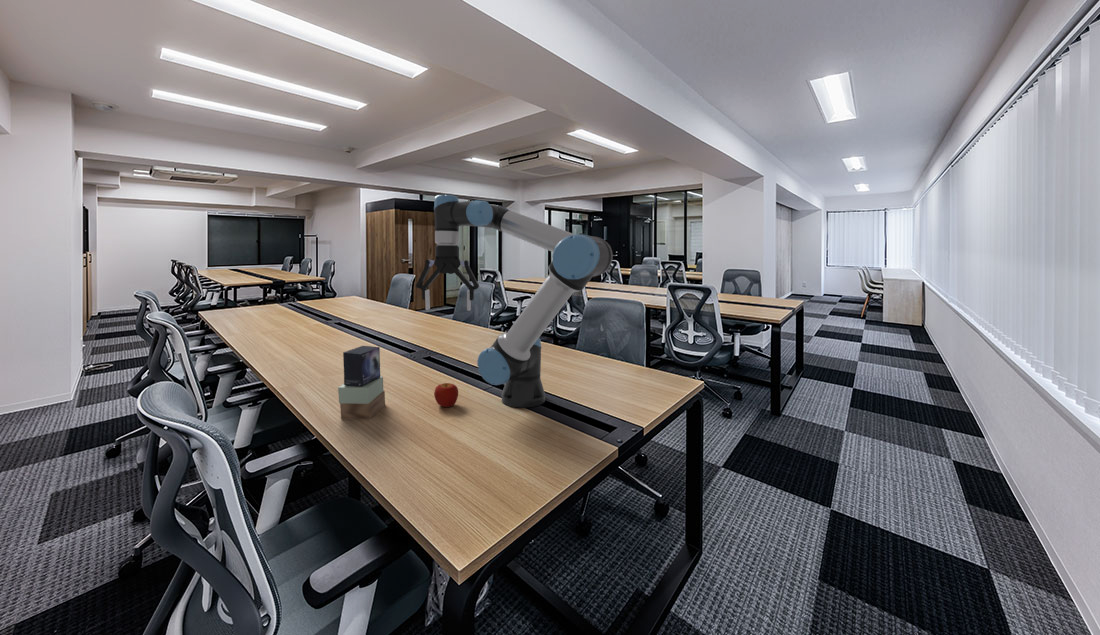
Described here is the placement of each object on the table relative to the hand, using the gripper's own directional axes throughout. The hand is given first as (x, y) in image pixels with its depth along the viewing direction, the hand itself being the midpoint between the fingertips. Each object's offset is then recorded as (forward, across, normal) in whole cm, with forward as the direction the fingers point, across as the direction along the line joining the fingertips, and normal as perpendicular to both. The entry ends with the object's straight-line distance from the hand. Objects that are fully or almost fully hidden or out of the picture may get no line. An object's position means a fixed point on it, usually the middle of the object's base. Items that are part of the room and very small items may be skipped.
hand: (448, 309), depth 141 cm
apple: (+32, 0, +4) cm, 32 cm away
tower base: (+32, +25, +10) cm, 42 cm away
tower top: (+27, +26, +10) cm, 38 cm away
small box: (+22, +25, +9) cm, 35 cm away
